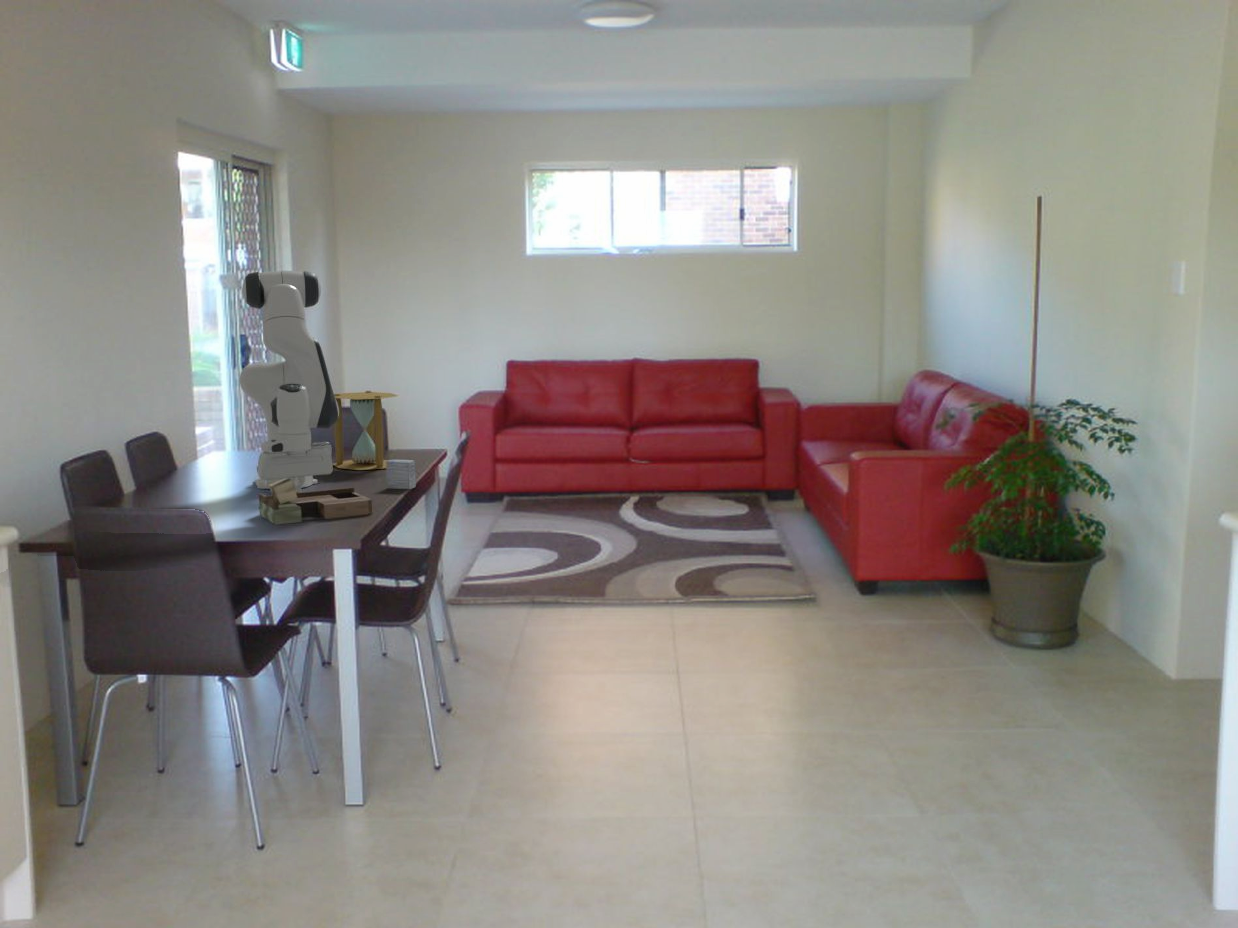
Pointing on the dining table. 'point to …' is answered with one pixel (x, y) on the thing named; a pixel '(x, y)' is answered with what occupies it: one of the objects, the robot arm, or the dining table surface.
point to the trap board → (315, 506)
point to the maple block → (283, 491)
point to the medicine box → (400, 474)
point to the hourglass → (365, 449)
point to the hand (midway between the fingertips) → (297, 493)
